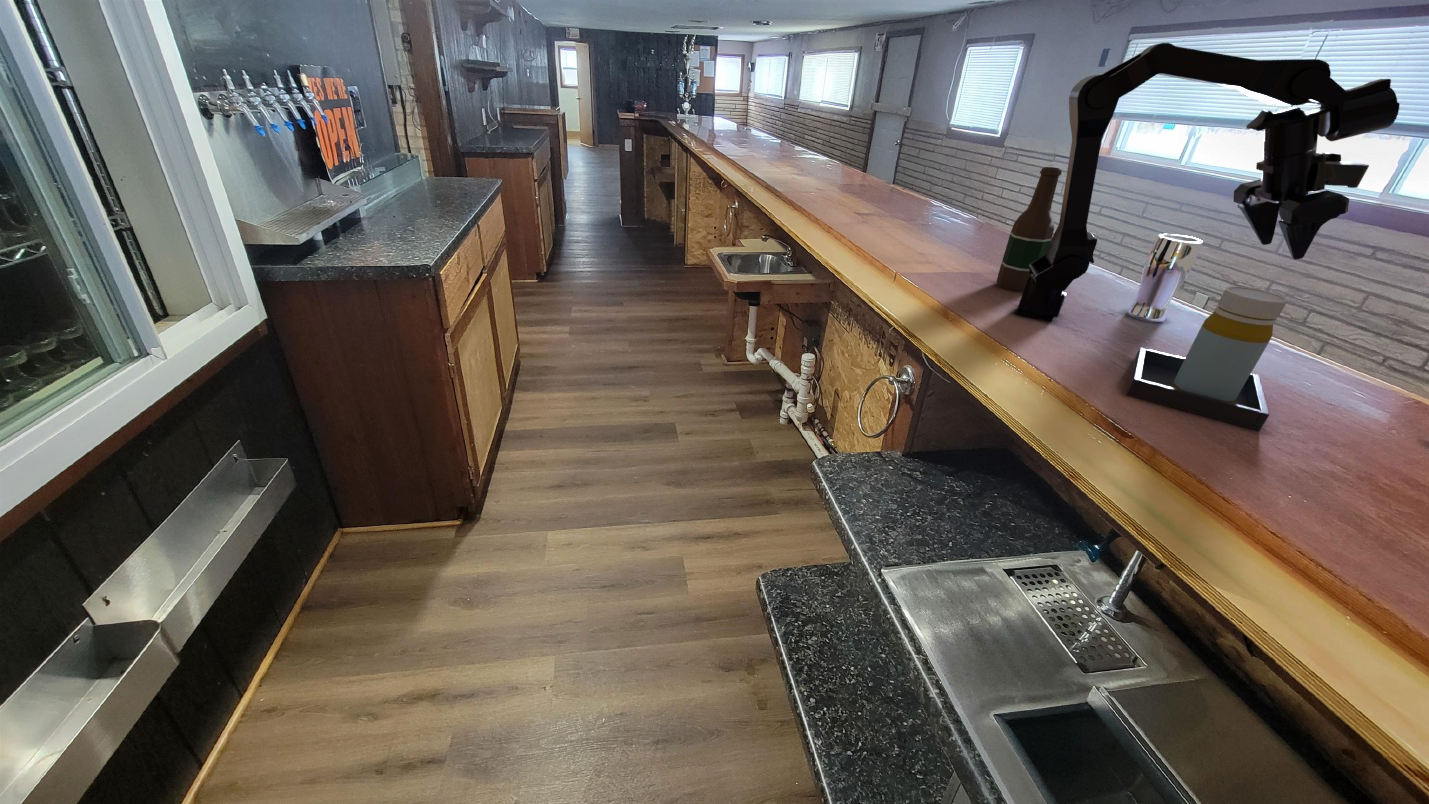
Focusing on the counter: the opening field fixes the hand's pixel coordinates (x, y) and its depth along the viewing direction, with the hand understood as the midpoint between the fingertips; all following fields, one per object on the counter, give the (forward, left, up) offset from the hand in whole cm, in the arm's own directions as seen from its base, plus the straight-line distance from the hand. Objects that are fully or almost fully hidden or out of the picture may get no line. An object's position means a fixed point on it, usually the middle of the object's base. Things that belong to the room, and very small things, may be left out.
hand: (1281, 251), depth 92 cm
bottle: (-5, -32, -16) cm, 36 cm away
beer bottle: (-37, +6, -16) cm, 41 cm away
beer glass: (-13, +4, -16) cm, 21 cm away
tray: (-6, -30, -16) cm, 35 cm away
